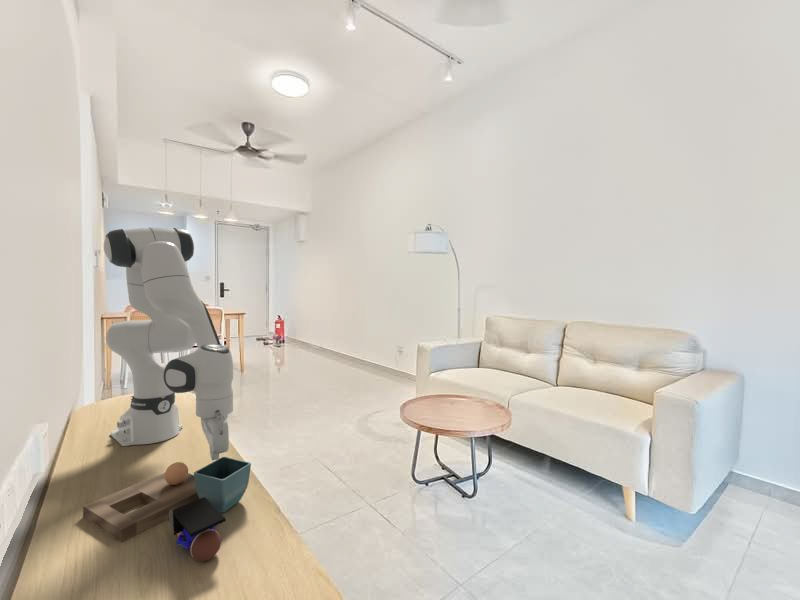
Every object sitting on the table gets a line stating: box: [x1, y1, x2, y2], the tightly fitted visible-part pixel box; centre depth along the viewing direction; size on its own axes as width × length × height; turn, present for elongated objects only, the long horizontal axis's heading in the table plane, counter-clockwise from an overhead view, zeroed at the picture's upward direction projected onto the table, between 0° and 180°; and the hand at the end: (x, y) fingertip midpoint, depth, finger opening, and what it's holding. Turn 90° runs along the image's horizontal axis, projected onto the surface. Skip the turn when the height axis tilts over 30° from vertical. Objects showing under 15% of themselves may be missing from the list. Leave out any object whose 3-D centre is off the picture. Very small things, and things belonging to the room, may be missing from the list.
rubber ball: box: [164, 461, 189, 485], centre depth 91 cm, size 5×5×5 cm
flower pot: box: [193, 456, 252, 514], centre depth 86 cm, size 9×9×9 cm
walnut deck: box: [82, 472, 199, 543], centre depth 86 cm, size 16×20×2 cm
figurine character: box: [168, 497, 227, 562], centre depth 73 cm, size 7×8×15 cm
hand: (214, 457), depth 99 cm, fingers closed
